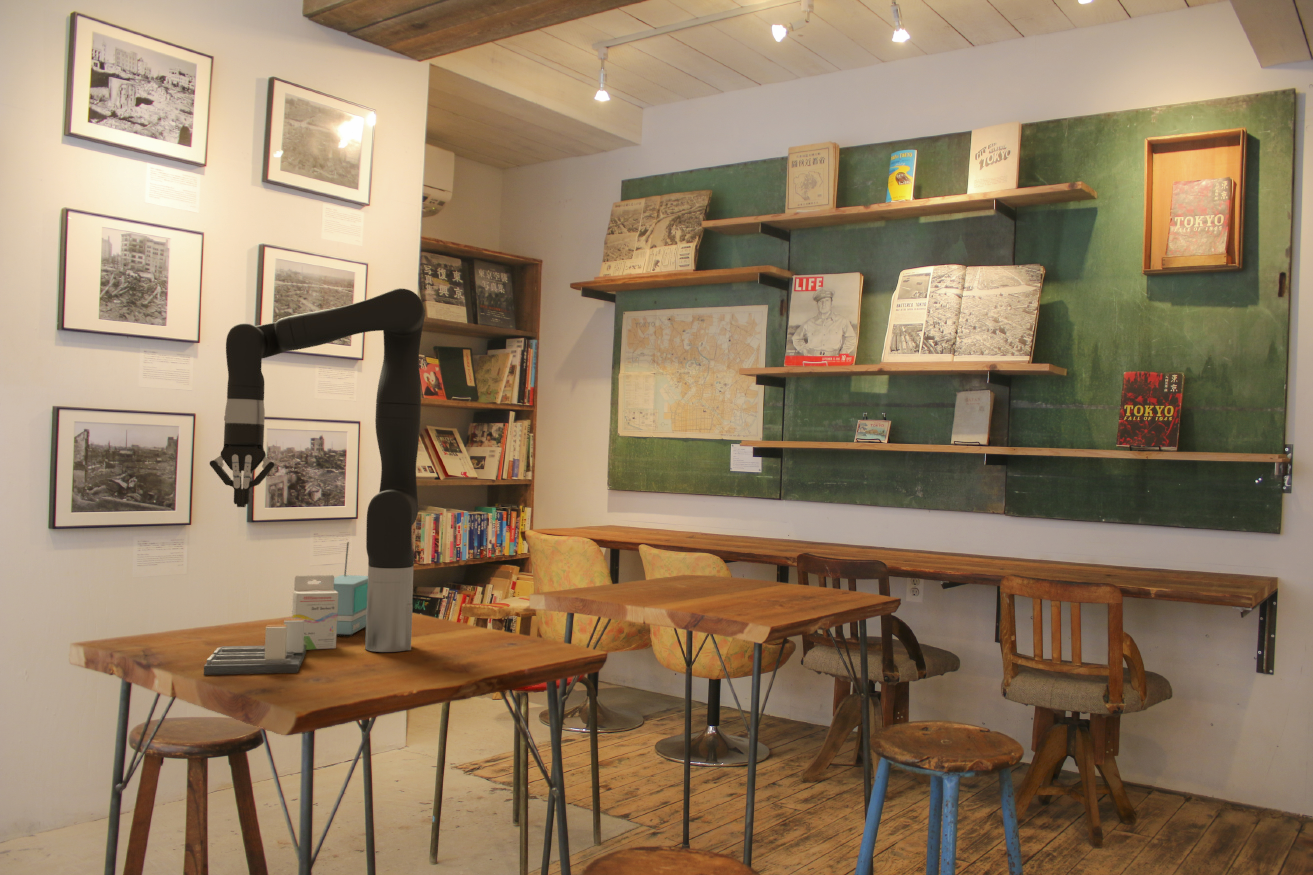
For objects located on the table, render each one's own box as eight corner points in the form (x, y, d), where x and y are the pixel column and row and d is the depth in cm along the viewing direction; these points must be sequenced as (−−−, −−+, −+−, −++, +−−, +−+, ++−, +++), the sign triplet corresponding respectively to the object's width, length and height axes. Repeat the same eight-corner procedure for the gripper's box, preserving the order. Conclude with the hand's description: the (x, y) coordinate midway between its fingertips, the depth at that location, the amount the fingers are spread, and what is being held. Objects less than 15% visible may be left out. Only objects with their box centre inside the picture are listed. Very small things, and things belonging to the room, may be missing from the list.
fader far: (303, 649, 197) (304, 617, 197) (302, 652, 194) (303, 620, 195) (284, 649, 196) (285, 617, 197) (282, 652, 193) (284, 620, 194)
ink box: (293, 650, 205) (296, 578, 206) (289, 646, 210) (292, 575, 210) (337, 648, 209) (339, 577, 210) (332, 644, 214) (335, 574, 214)
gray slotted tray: (306, 652, 204) (306, 640, 204) (297, 672, 185) (298, 659, 185) (220, 654, 199) (221, 642, 200) (203, 674, 181) (204, 661, 181)
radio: (356, 638, 222) (359, 547, 222) (315, 637, 222) (319, 546, 222) (377, 626, 237) (380, 541, 238) (339, 625, 237) (342, 540, 238)
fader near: (286, 656, 190) (287, 623, 190) (284, 659, 187) (285, 626, 187) (266, 657, 189) (267, 623, 189) (264, 660, 186) (265, 626, 186)
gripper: (280, 424, 211) (277, 506, 211) (212, 421, 208) (209, 505, 207) (277, 422, 204) (273, 508, 204) (206, 420, 201) (202, 507, 200)
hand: (241, 506), depth 206 cm, fingers closed
